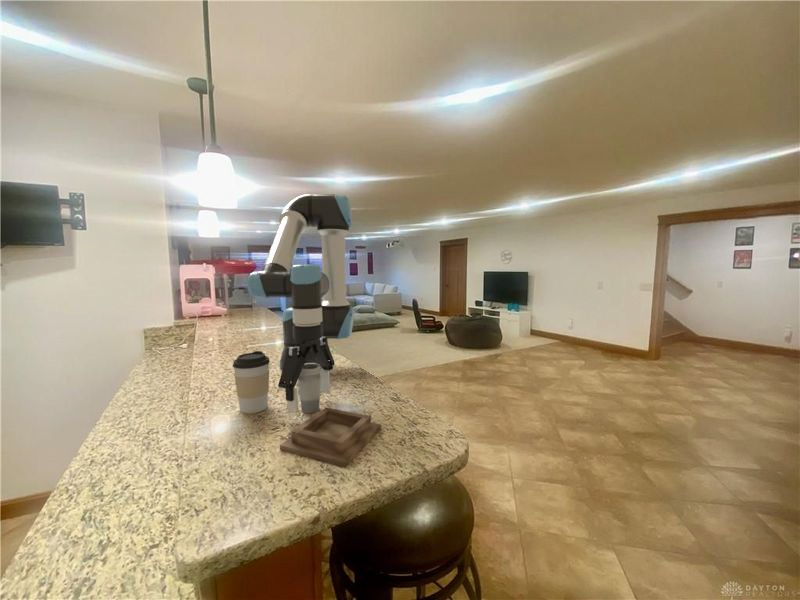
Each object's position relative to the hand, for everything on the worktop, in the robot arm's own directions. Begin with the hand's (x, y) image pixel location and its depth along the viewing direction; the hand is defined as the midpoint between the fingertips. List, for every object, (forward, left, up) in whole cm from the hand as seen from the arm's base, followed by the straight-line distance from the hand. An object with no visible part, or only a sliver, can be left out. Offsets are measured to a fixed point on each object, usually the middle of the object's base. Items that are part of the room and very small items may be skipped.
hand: (310, 401), depth 86 cm
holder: (+10, +14, -2) cm, 17 cm away
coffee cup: (+5, -15, -2) cm, 16 cm away
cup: (0, 0, -2) cm, 2 cm away
